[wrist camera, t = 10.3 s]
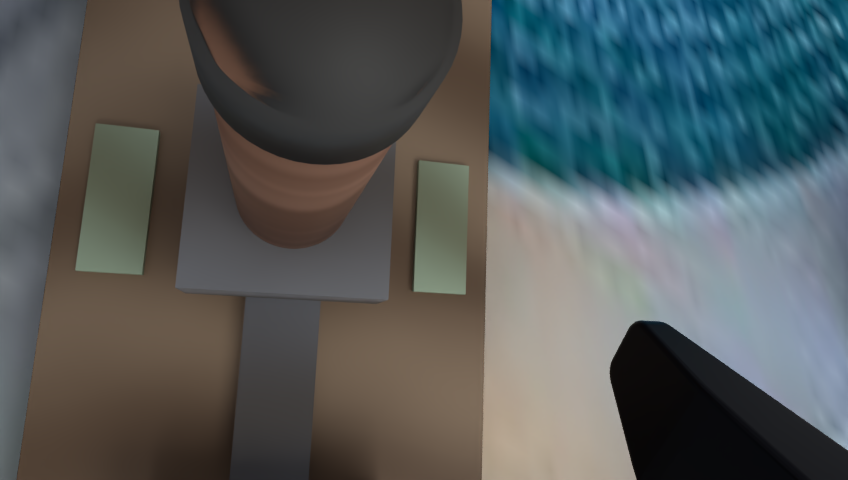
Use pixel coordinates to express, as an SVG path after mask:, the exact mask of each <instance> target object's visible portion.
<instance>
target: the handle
mask: <svg viewBox="0 0 848 480" xmlns="http://www.w3.org/2000/svg"><path fill="white" fill-rule="evenodd" d="M179 6H180V11H181V14H182V18H183V22H184V26H185V30H186V34H187V37H188V41H189V45H190V49H191V52H192V56H193V60H194V64H195V68H196V71H197V75H198V78H199V80H200V83H201V84H197V94H196V103H195V112H194V121H193V130H192V139H191V148H190V157H189V166H188V175H187V184H186V193H185V202H184V211H183V220H182V229H181V238H180V247H179V256H178V265H177V274H176V284H175V288H177V289H179V290H180V291H182V292H184V293H187V294H205V295H223V296H241V297H259V298H277V299H295V300H313V301H331V302H349V303H367V304H378V303H381V302H383V301H386V300H388V299H389V278H390V258H391V237H392V217H393V196H394V176H395V155H396V141H397V140H399V139H400V138H401V137H402V136H403V135H404V134H405V133H406V132H407V131H408V130H409V129H410V128H411V126H412V125H413V124H414V123H415V121H416V120H417V119H418V117H419V116H420V114H421V113H422V111H423V110H424V109H425V107H426V106H427V104H428V103H429V101H430V100H431V98H432V97H433V95H434V94H435V92H436V91H437V89H438V88H439V86H440V85H441V83H442V82H443V80H444V79H445V77H446V75H447V73H448V72H449V70H450V68H451V67H452V64H453V62H454V59H455V57H456V54H457V51H458V47H459V43H460V39H461V33H462V23H463V15H462V1H461V0H179Z"/></svg>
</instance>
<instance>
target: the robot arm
mask: <svg viewBox="0 0 848 480" xmlns="http://www.w3.org/2000/svg"><path fill="white" fill-rule="evenodd" d="M610 380H611V384H612V388H613V392H614V396H615V400H616V403H617V407H618V411H619V415H620V419H621V423H622V427H623V431H624V434H625V438H626V442H627V446H628V450H629V454H630V458H631V461H632V465H633V469H634V472H635V476H636V479H637V480H848V450H846V449H845V448H843V447H842V446H841V445H839V444H838V443H836V442H835V441H833V440H832V439H831V438H829V437H828V436H826V435H825V434H824V433H822V432H821V431H819V430H818V429H816V428H815V427H814V426H812V425H811V424H809V423H808V422H806V421H805V420H804V419H802V418H801V417H799V416H798V415H796V414H795V413H794V412H792V411H791V410H789V409H788V408H786V407H785V406H784V405H782V404H781V403H779V402H778V401H777V400H775V399H774V398H772V397H771V396H769V395H768V394H767V393H765V392H764V391H762V390H761V389H759V388H758V387H757V386H755V385H754V384H752V383H751V382H749V381H748V380H747V379H745V378H744V377H742V376H741V375H739V374H738V373H737V372H735V371H734V370H732V369H731V368H729V367H728V366H727V365H725V364H724V363H722V362H721V361H720V360H718V359H717V358H715V357H714V356H712V355H711V354H710V353H708V352H707V351H705V350H704V349H702V348H701V347H700V346H698V345H697V344H695V343H694V342H692V341H691V340H690V339H688V338H687V337H685V336H684V335H682V334H681V333H680V332H678V331H677V330H675V329H674V328H673V327H671V326H670V325H668V324H666V323H664V322H658V321H636V322H635V323H633V324H632V325H631V326H630V327H629V329H628V331H627V333H626V335H625V337H624V339H623V340H622V342H621V344H620V346H619V348H618V350H617V352H616V354H615V356H614V357H613V359H612V362H611V366H610Z"/></svg>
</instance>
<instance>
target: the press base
mask: <svg viewBox="0 0 848 480" xmlns="http://www.w3.org/2000/svg"><path fill="white" fill-rule="evenodd" d="M461 1H462V15H463V23H462V33H461V39H460V43H459V47H458V51H457V54H456V57H455V59H454V62H453V64H452V67H451V68H450V70H449V72H448V73H447V75H446V77H445V79H444V80H443V82H442V83H441V85H440V86H439V88H438V89H437V91H436V92H435V94H434V95H433V97H432V98H431V100H430V101H429V103H428V104H427V106H426V107H425V109H424V110H423V111H422V113H421V114H420V116H419V117H418V119H417V120H416V121H415V123H414V124H413V125H412V126H411V128H410V129H409V130H408V131H407V132H406V133H405V134H404V135H403V136H402V137H401V138H400V139H399V140H397V141H396V155H395V176H394V196H393V217H392V237H391V258H390V278H389V299H388V300H386V301H383V302H381V303H378V304H367V303H349V302H331V301H313V300H295V299H277V298H259V297H241V296H223V295H205V294H187V293H184V292H182V291H180V290H179V289H177V288H175V284H176V274H177V265H178V256H179V247H180V238H181V229H182V220H183V211H184V202H185V193H186V184H187V175H188V166H189V157H190V148H191V139H192V130H193V121H194V112H195V103H196V94H197V84H201V83H200V80H199V78H198V75H197V71H196V68H195V64H194V60H193V56H192V52H191V49H190V45H189V41H188V37H187V34H186V30H185V26H184V22H183V18H182V14H181V11H180V6H179V0H87V7H86V14H85V20H84V27H83V34H82V41H81V47H80V54H79V61H78V68H77V74H76V81H75V88H74V95H73V101H72V108H71V115H70V122H69V128H68V135H67V142H66V149H65V155H64V162H63V169H62V176H61V182H60V189H59V196H58V203H57V210H56V216H55V223H54V230H53V237H52V243H51V250H50V257H49V264H48V270H47V277H46V284H45V291H44V297H43V304H42V311H41V318H40V324H39V331H38V338H37V345H36V351H35V358H34V365H33V372H32V378H31V385H30V392H29V399H28V405H27V412H26V419H25V426H24V432H23V439H22V446H21V453H20V459H19V466H18V473H17V480H481V479H482V431H483V383H484V336H485V288H486V240H487V193H488V145H489V97H490V50H491V2H492V0H461Z"/></svg>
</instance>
